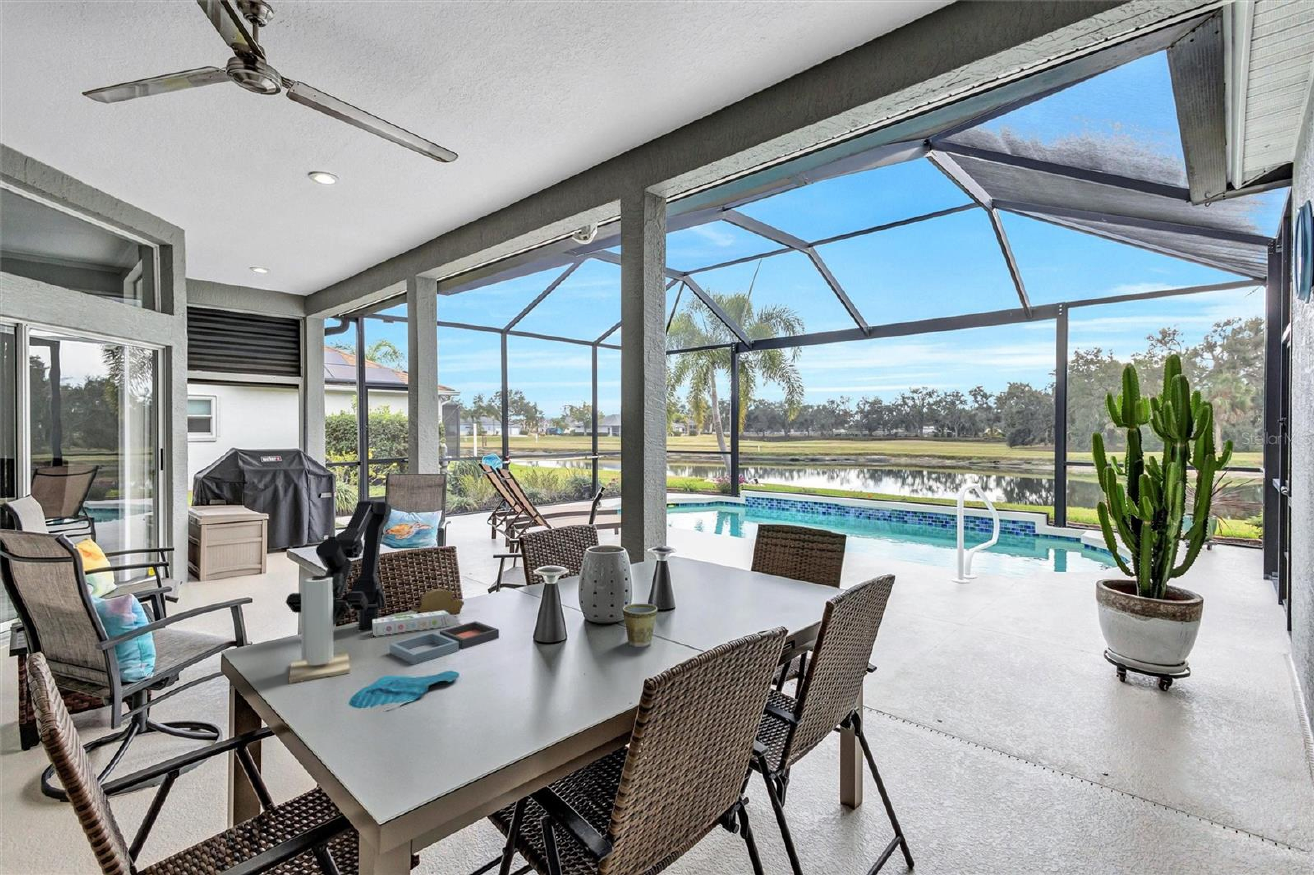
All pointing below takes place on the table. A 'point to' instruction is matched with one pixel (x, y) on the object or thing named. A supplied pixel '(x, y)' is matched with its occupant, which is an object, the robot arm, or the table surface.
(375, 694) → the blue flat elongated piece
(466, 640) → the tray
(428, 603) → the wooden carving
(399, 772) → the table surface
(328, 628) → the paper towel roll
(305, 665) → the wooden pad
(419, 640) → the blue square frame
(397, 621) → the box
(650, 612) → the ceramic cup
